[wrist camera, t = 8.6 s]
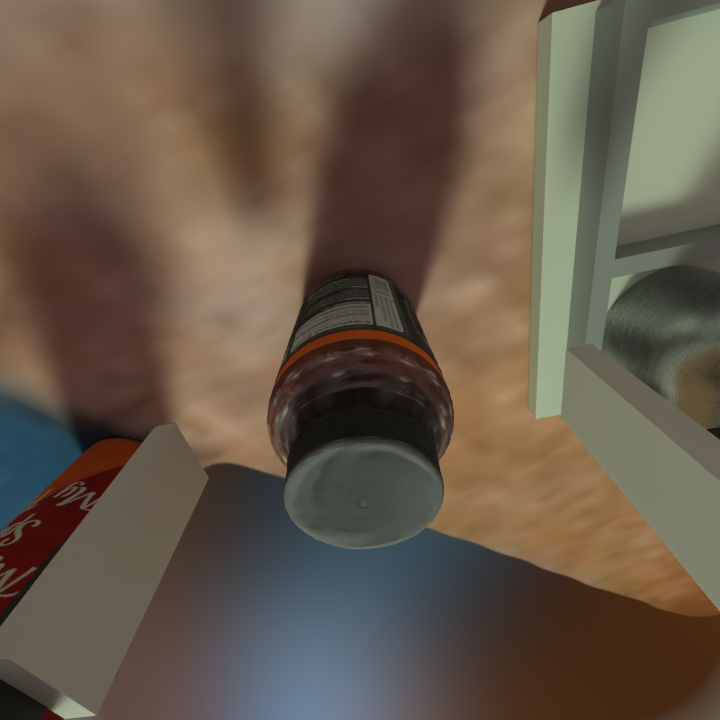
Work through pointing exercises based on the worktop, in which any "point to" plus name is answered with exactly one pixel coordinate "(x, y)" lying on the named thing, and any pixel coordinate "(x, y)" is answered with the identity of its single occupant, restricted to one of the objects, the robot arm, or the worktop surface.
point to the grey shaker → (672, 338)
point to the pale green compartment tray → (618, 166)
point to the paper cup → (57, 516)
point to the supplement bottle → (360, 415)
